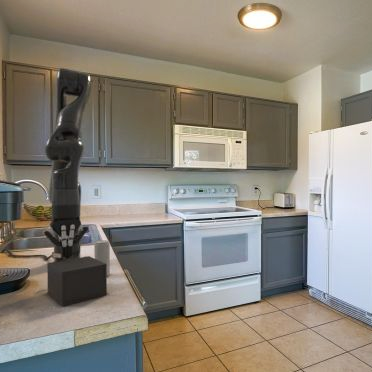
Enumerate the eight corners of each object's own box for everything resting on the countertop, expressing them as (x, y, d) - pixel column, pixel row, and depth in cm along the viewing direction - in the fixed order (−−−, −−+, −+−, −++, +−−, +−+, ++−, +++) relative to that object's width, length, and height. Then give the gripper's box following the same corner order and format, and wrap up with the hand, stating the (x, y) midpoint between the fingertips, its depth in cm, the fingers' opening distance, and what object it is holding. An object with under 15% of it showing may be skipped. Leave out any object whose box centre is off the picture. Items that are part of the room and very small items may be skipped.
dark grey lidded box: (47, 293, 92) (47, 262, 92) (89, 284, 101) (89, 256, 101) (62, 306, 83) (61, 272, 83) (106, 294, 91) (106, 263, 91)
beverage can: (112, 273, 112) (111, 240, 112) (106, 277, 107) (106, 243, 107) (98, 273, 112) (98, 240, 112) (92, 278, 107) (91, 243, 107)
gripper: (83, 201, 106) (84, 252, 106) (37, 203, 96) (38, 260, 96) (92, 202, 101) (93, 256, 101) (44, 204, 91) (45, 264, 91)
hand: (66, 258), depth 99 cm, fingers closed
